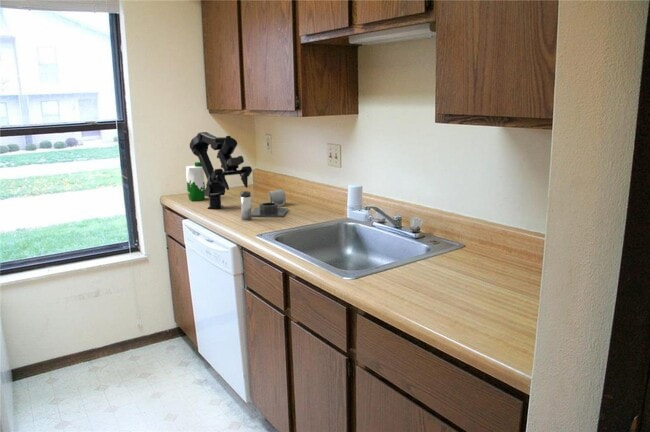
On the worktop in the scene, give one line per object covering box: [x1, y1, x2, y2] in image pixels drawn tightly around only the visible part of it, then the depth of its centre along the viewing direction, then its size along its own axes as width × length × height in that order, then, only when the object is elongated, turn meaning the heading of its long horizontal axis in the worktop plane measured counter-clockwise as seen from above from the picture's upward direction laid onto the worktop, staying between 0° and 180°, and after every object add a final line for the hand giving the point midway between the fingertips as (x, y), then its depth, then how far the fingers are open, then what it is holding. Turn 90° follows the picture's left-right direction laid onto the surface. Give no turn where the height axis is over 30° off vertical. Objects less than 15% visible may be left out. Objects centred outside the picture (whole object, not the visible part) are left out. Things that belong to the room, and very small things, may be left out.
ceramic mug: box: [266, 188, 287, 208], centre depth 261 cm, size 11×8×8 cm
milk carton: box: [185, 161, 206, 202], centre depth 276 cm, size 9×9×20 cm
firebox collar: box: [251, 202, 289, 218], centre depth 243 cm, size 16×16×4 cm
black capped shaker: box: [239, 190, 253, 221], centre depth 230 cm, size 4×4×12 cm
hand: (237, 188), depth 234 cm, fingers open, 9 cm apart
